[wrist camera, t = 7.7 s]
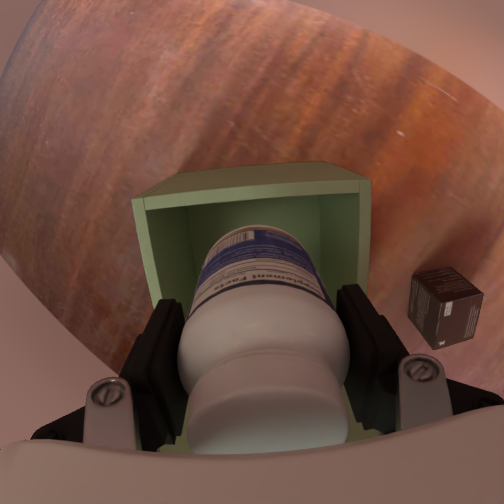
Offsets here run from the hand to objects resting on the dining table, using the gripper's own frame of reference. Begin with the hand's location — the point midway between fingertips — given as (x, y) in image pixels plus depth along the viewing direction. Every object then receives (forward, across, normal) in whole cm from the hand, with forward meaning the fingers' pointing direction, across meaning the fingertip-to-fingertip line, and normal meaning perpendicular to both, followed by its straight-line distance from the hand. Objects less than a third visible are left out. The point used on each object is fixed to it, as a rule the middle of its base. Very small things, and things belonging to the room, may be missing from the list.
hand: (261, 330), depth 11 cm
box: (+21, -21, +12) cm, 31 cm away
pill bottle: (+5, 0, 0) cm, 5 cm away
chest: (+20, 0, +4) cm, 21 cm away
